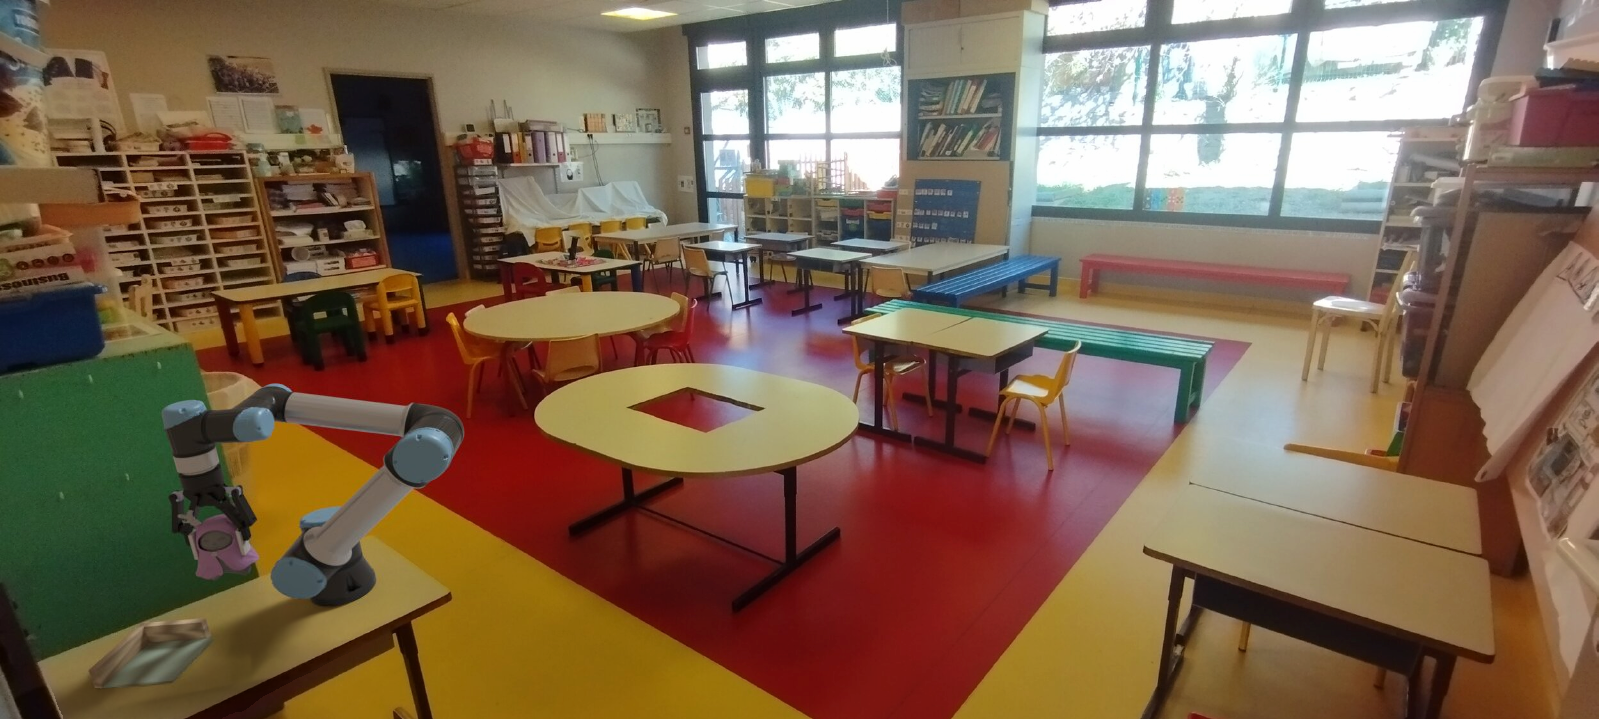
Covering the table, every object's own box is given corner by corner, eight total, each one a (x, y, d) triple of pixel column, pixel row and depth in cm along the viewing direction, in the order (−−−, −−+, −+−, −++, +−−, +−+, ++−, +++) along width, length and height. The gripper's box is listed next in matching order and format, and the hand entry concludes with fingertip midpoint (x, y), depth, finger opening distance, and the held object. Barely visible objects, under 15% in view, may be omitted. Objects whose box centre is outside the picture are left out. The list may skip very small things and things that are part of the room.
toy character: (192, 596, 165) (168, 519, 159) (207, 571, 175) (186, 497, 168) (255, 584, 170) (234, 509, 163) (267, 560, 179) (248, 488, 172)
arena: (218, 633, 176) (213, 616, 174) (172, 682, 161) (166, 664, 159) (148, 639, 174) (142, 622, 172) (95, 688, 159) (88, 670, 157)
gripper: (261, 456, 168) (282, 540, 176) (154, 464, 164) (179, 550, 171) (245, 471, 162) (267, 558, 169) (132, 479, 157) (160, 568, 164)
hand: (223, 554), depth 170 cm, fingers closed on toy character, 9 cm apart
